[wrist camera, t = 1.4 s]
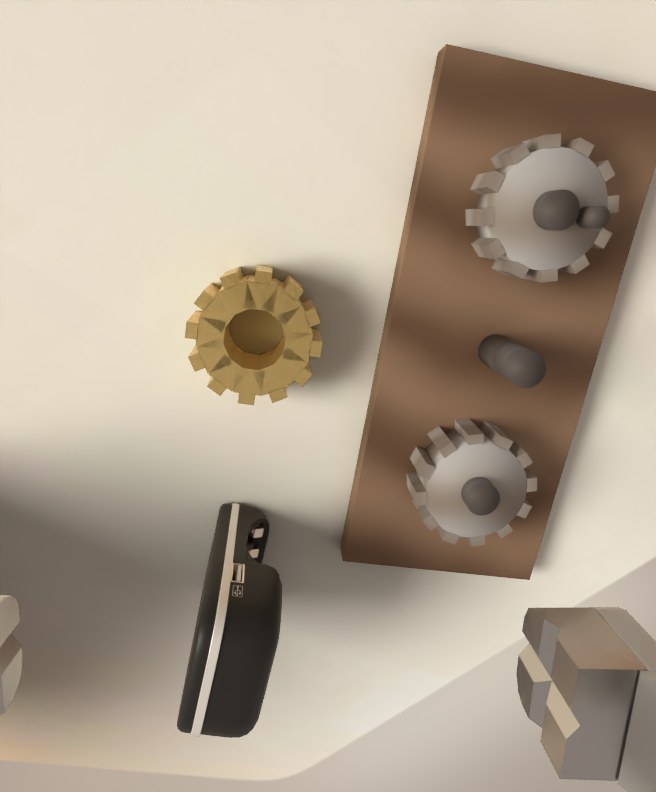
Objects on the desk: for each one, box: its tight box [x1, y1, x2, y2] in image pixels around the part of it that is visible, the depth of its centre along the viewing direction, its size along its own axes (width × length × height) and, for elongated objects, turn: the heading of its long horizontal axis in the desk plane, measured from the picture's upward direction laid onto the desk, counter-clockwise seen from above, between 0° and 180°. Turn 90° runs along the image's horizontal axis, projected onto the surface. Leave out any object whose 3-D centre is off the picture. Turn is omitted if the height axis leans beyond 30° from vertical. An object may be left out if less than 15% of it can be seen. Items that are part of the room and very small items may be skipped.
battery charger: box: [177, 503, 282, 737], centre depth 30 cm, size 7×4×11 cm, turn 166°
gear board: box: [340, 44, 656, 580], centre depth 31 cm, size 28×12×6 cm, turn 170°
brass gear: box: [185, 265, 323, 405], centre depth 30 cm, size 7×7×4 cm
